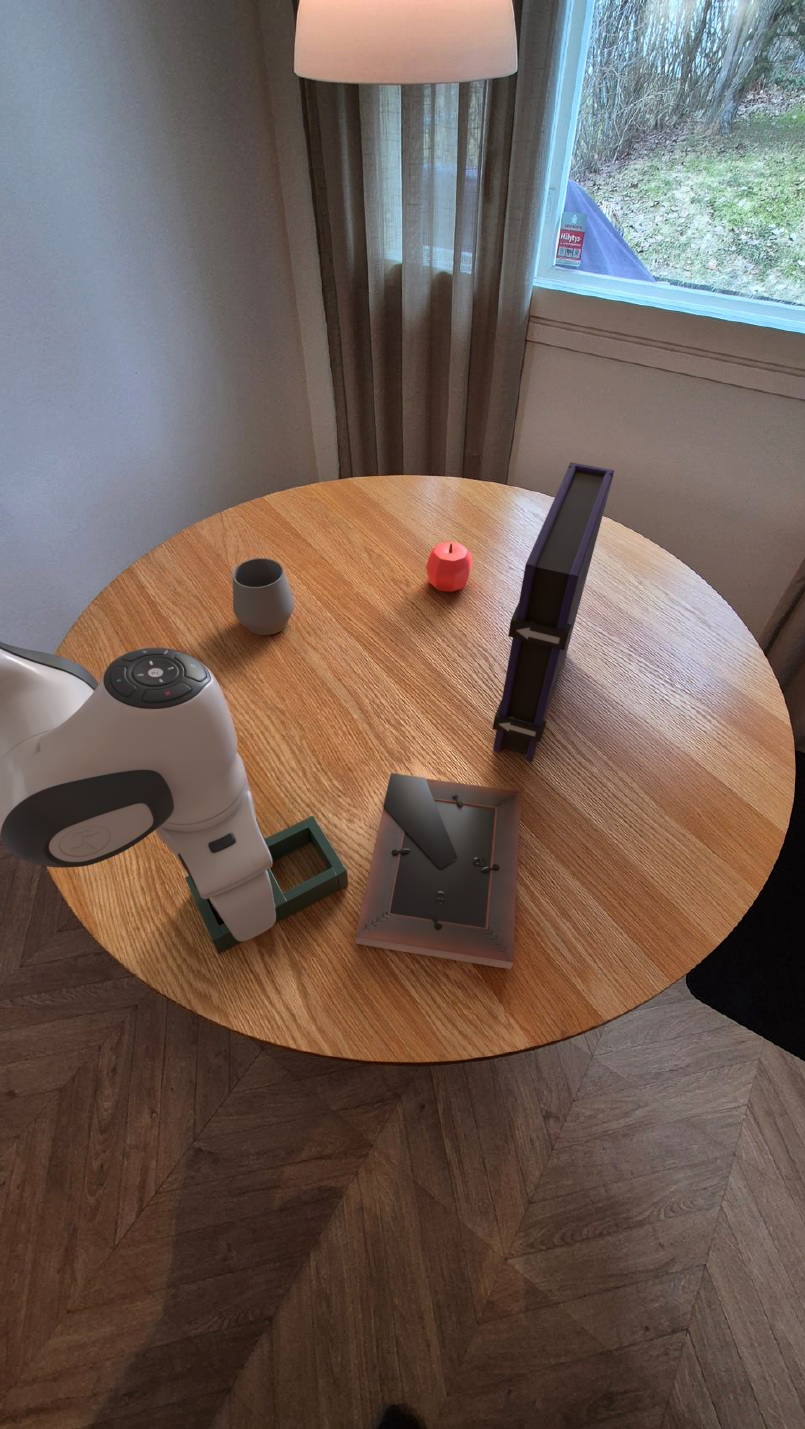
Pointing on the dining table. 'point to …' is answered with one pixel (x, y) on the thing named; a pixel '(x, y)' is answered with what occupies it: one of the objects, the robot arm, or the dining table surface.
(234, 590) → the cup
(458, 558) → the apple
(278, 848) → the holder
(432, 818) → the picture frame
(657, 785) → the dining table surface
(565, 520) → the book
